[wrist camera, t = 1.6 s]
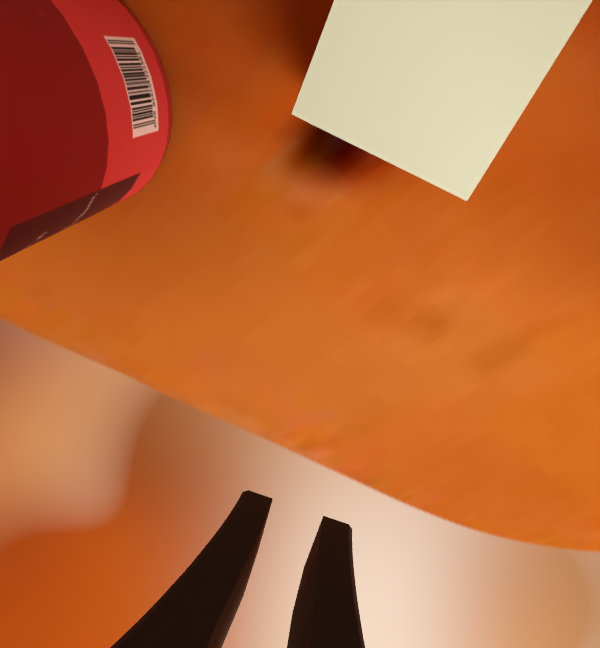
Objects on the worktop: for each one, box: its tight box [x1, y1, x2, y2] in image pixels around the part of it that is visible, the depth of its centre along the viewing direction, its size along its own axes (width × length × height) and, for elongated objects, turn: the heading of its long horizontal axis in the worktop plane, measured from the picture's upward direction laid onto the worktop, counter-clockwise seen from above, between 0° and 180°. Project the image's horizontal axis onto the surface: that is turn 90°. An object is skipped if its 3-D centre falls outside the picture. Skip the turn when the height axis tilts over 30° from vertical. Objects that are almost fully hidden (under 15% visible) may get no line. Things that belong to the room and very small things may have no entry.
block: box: [292, 0, 592, 201], centre depth 13 cm, size 5×5×5 cm
